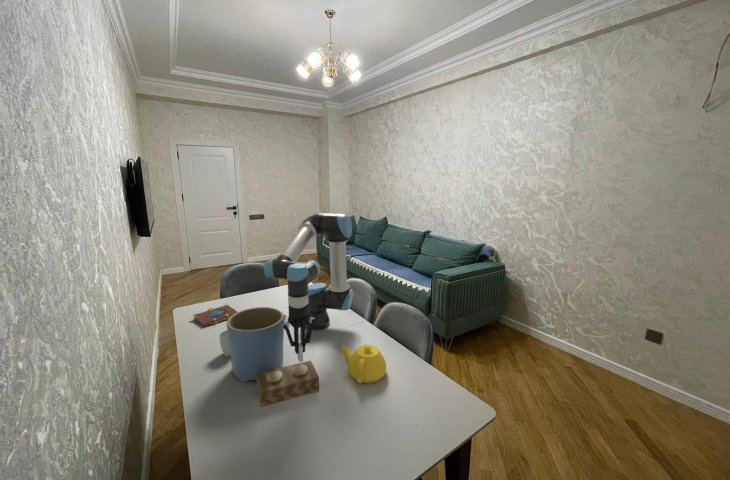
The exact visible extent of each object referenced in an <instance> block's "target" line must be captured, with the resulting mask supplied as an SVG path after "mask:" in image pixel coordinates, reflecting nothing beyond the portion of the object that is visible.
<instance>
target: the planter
mask: <svg viewBox="0 0 730 480" xmlns="http://www.w3.org/2000/svg"><path fill="white" fill-rule="evenodd" d="M284 320H285V319H284V313H283V311H281V310H279V309H278V308H275V307H274V308H273V307H269V306H267V307H266V306H263V307H262V306H258V307H251V308H246V309H243V310H240V311H237V313H235V314H233V315H232V316H231V317H229V318H228V320H226V324H225V325H226V330H227V333H228V342H229V349H230V356H229V357H230V361H231V362H230V363H231V369H232V370H231V371H232V374H233V375H234V376H235V378H237V380H239V381H241V382H242V383H245V382H247V381H257V376H256V374H257V373H261V372H265V371H269V370H273V369H277V368H282V367H283V365H284V364H283V362H284V334H285V333H284V332H285V331H284V330H285V329H284V328H283V326H282V323H285V322H284Z"/></svg>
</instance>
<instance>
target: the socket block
mask: <svg viewBox="0 0 730 480" xmlns="http://www.w3.org/2000/svg"><path fill="white" fill-rule="evenodd" d="M297 365H306V366H307V368H308V372H307V373H306V374H305V375H303V376H297V377H296V376H295V375H294V374H293V368H294V367H295V366H297ZM271 371H280V372H282V379H281V380H280V381H279V382H276V383H270V384H269V382H268V381H267V378H266V376H267V374H268V373H269V372H271ZM256 376H257V380H256V388H257V394H258V398H259V405H260V408H264V407H267V406H271V405H274V404H277V403H280V402H283V401H284V402H285V401H288V400H290V399H295V398H297V397H298V398H299V397H302V396H305V395H308V394H312V393H315V392H319V391H320V376H319V374H318V372H317V370H316V367H315V365H314V364H313V362H312V360H307V361H302V362H299V363H295V364H291V365H287V366H282V367H281V368H277V369H273V370H269V371H265V372H261V373H257V374H256Z"/></svg>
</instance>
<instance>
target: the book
mask: <svg viewBox="0 0 730 480" xmlns="http://www.w3.org/2000/svg"><path fill="white" fill-rule="evenodd" d="M237 312H238V311H237V310H235V309H234V308H233V307H232V306H230V305H229V304H227V303H226V304H224V305H222V306H219V307H216V308H213V307H211V308H207V310H206V311H203V312H199V313H193V314H192V317H193V318H192V319H193V321H196V322H197V323H198V324H199V325H201V326H202V327H203V328H206V327H209V326H212V325H217V324H218V323H221V322H224V321H227V320H228V318H229V317H231V316H232V315H233V314H235V313H237Z"/></svg>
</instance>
